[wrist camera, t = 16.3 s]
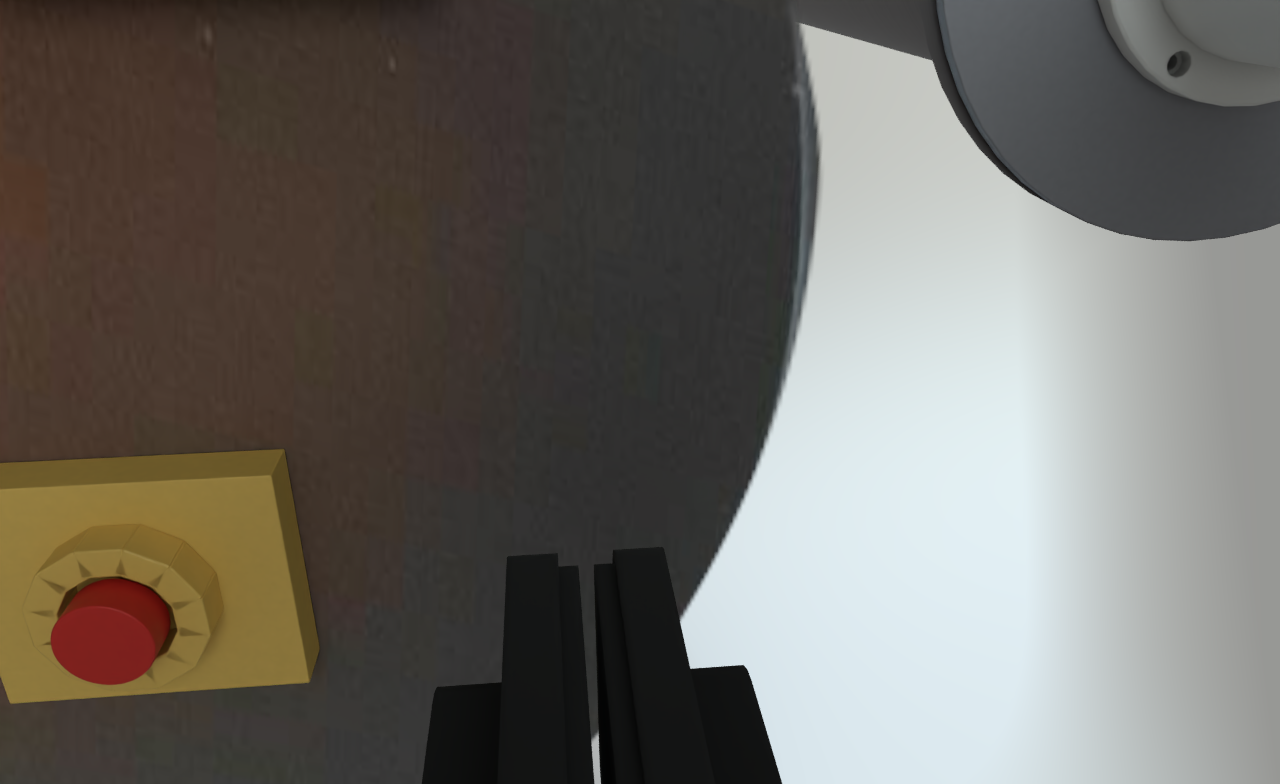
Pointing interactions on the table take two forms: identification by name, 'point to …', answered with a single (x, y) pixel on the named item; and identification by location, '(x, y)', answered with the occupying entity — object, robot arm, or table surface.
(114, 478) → the switch block
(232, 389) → the table surface
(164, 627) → the button
